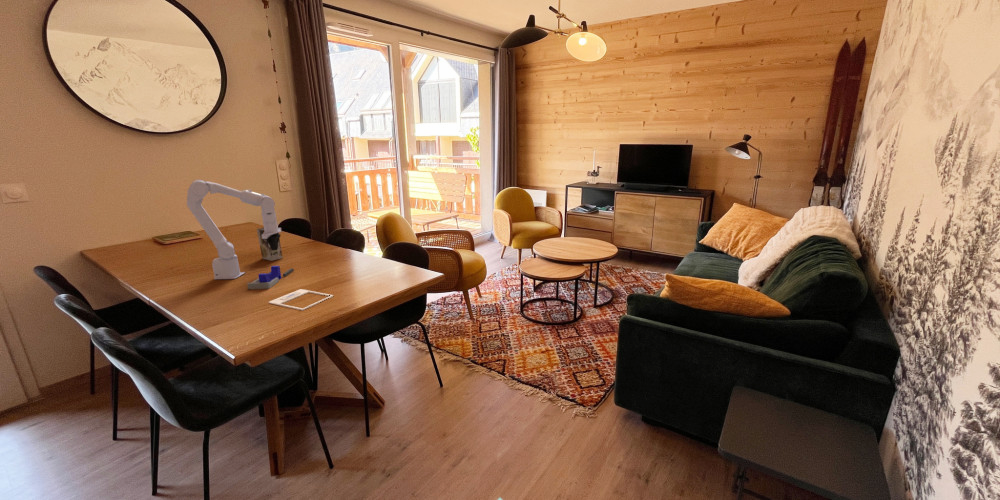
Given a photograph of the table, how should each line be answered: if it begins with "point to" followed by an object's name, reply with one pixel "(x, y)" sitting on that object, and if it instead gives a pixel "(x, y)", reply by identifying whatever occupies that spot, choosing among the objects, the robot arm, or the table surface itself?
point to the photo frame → (294, 295)
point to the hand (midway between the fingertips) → (274, 249)
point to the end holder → (262, 284)
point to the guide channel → (288, 272)
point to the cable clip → (270, 274)
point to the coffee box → (268, 248)
